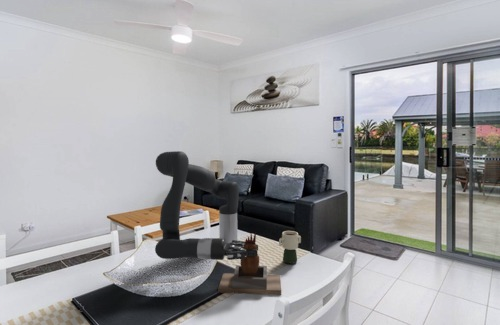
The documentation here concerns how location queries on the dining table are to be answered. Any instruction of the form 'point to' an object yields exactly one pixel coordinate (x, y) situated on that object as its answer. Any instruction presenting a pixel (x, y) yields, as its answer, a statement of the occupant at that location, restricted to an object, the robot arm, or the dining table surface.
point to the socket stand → (250, 282)
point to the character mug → (290, 246)
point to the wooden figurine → (250, 257)
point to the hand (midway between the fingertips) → (257, 250)
